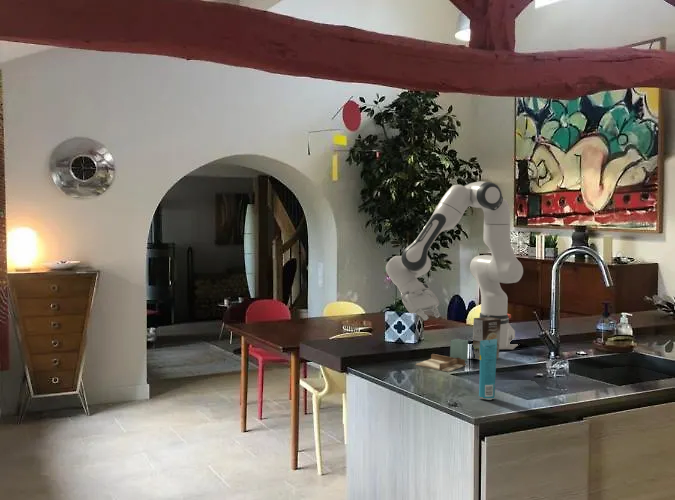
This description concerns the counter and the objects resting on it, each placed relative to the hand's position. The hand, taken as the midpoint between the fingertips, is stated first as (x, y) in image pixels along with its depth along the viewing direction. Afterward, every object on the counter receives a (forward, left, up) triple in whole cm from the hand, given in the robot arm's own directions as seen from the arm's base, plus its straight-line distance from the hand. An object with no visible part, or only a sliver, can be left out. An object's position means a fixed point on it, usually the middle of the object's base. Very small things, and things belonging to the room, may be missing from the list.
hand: (432, 318), depth 286 cm
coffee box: (-11, +18, -15) cm, 26 cm away
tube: (+41, +44, -15) cm, 62 cm away
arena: (+12, +11, -15) cm, 22 cm away
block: (0, +12, -15) cm, 20 cm away
